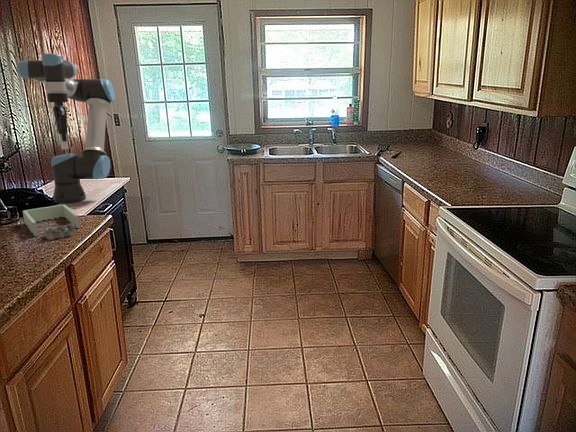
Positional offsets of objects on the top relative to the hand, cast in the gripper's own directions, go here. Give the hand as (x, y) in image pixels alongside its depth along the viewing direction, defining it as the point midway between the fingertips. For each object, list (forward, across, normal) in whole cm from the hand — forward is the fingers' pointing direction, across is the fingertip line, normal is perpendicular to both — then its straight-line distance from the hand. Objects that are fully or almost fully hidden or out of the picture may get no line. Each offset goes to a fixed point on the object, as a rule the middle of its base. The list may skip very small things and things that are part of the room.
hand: (65, 148), depth 195 cm
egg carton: (+30, +30, -12) cm, 44 cm away
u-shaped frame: (+29, +14, -12) cm, 35 cm away
